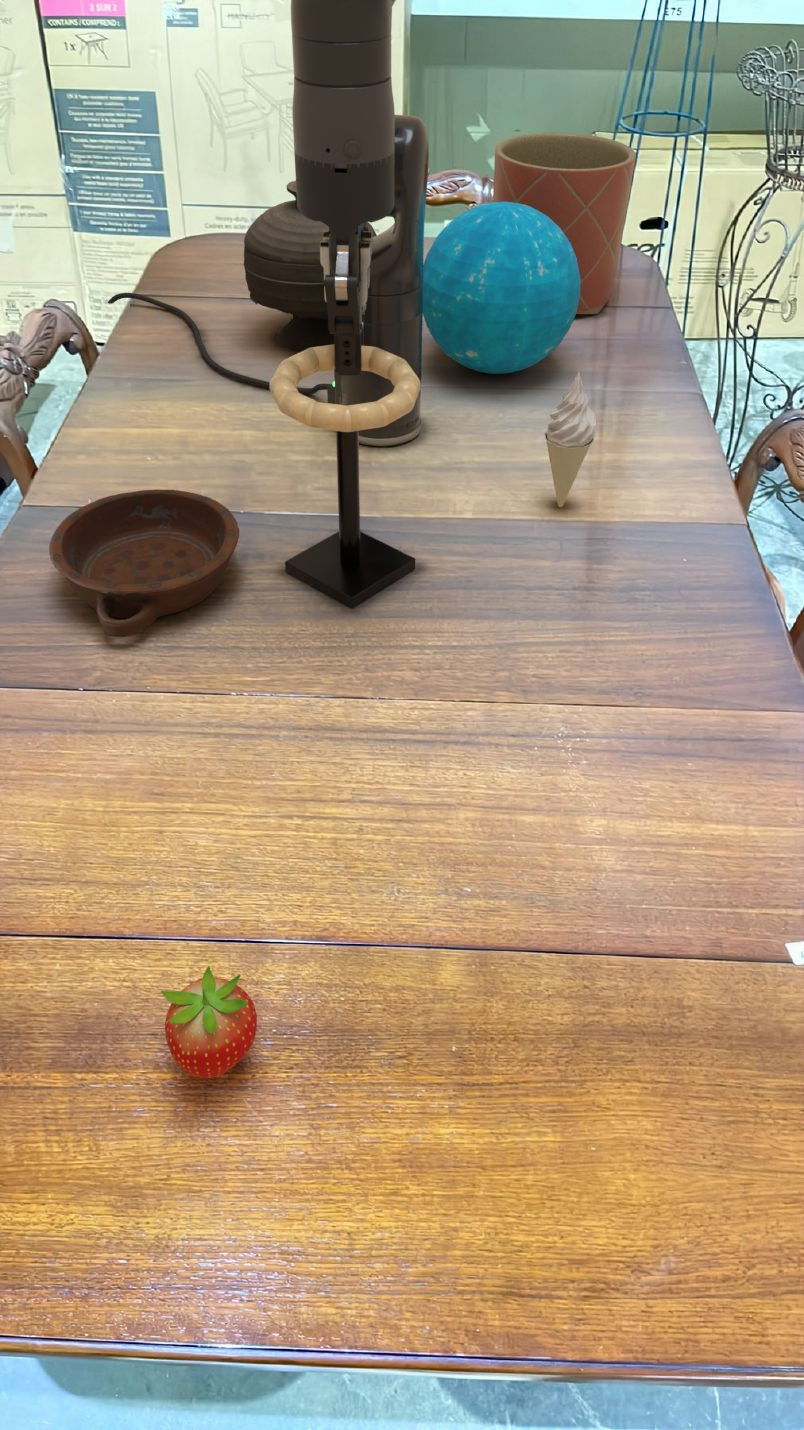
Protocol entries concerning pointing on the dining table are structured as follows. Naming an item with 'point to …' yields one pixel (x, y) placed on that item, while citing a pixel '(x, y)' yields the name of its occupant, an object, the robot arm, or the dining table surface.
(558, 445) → the ice cream cone
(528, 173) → the planter
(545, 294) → the decorative sphere
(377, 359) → the ring
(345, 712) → the dining table surface
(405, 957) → the dining table surface
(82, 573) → the dish
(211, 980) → the fruit
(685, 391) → the dining table surface
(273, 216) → the pot
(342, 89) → the robot arm
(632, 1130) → the dining table surface
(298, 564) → the post
